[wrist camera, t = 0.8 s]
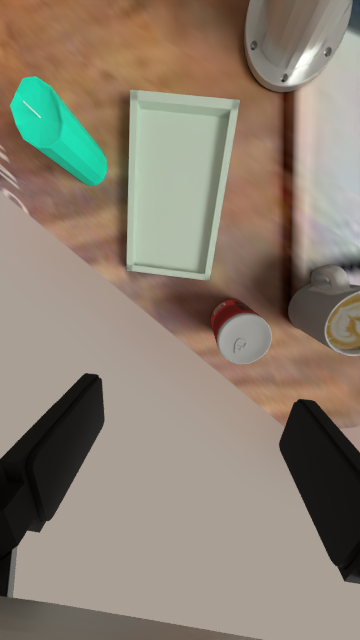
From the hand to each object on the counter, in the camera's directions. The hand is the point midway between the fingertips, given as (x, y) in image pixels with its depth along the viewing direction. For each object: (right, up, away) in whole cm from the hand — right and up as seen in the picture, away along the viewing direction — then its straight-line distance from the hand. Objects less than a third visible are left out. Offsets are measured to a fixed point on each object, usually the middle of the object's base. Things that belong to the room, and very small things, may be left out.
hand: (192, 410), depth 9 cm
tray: (-1, +24, +21) cm, 33 cm away
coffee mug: (+25, +9, +25) cm, 36 cm away
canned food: (+9, +5, +27) cm, 29 cm away
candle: (-16, +30, +21) cm, 40 cm away
